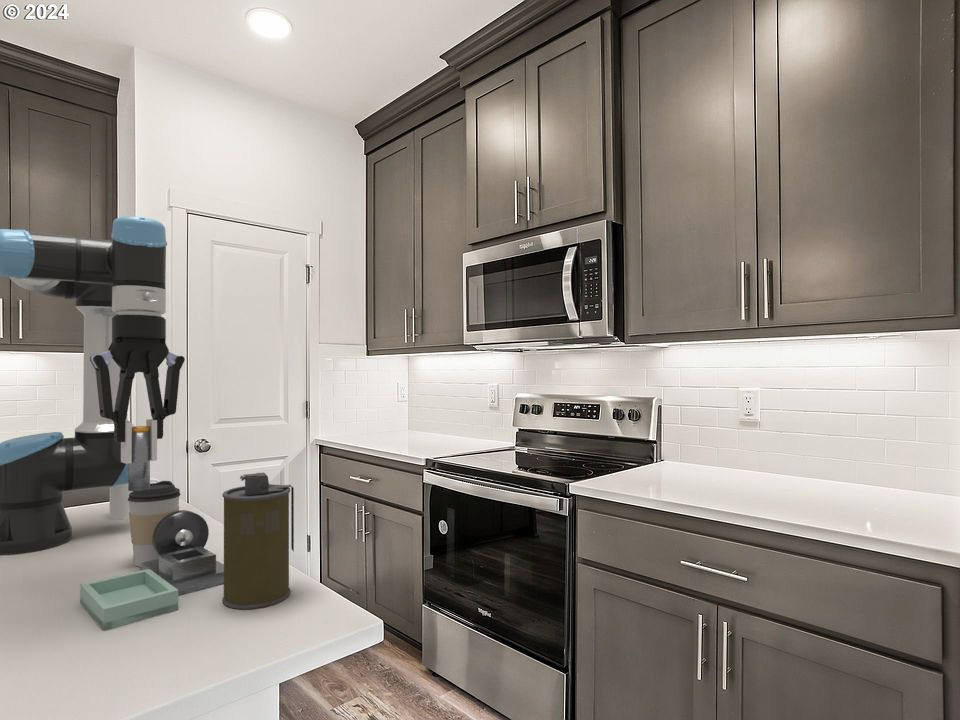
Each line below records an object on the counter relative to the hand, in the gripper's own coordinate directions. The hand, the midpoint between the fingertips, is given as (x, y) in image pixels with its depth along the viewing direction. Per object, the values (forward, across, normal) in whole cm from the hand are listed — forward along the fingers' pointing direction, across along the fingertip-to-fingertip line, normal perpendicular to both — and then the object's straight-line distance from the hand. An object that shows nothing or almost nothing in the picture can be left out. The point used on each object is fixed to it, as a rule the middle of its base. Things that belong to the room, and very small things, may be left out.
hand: (139, 460), depth 94 cm
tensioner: (+23, +10, +6) cm, 25 cm away
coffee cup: (+23, +9, +20) cm, 32 cm away
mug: (+23, +19, +64) cm, 71 cm away
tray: (+23, -2, 0) cm, 23 cm away
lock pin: (+5, 0, 0) cm, 5 cm away
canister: (+23, +14, -12) cm, 29 cm away
